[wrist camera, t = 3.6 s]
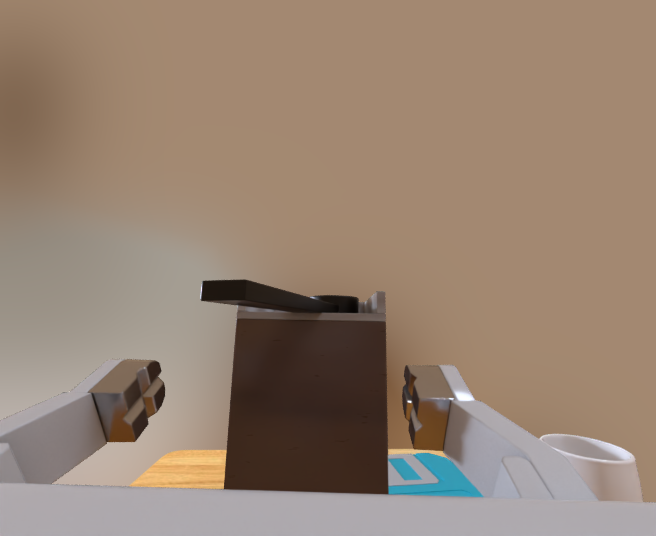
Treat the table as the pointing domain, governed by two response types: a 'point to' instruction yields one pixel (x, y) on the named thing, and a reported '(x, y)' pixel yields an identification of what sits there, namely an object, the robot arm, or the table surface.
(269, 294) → the lever handle
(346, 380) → the stand
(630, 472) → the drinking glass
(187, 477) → the table surface
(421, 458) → the diskette
